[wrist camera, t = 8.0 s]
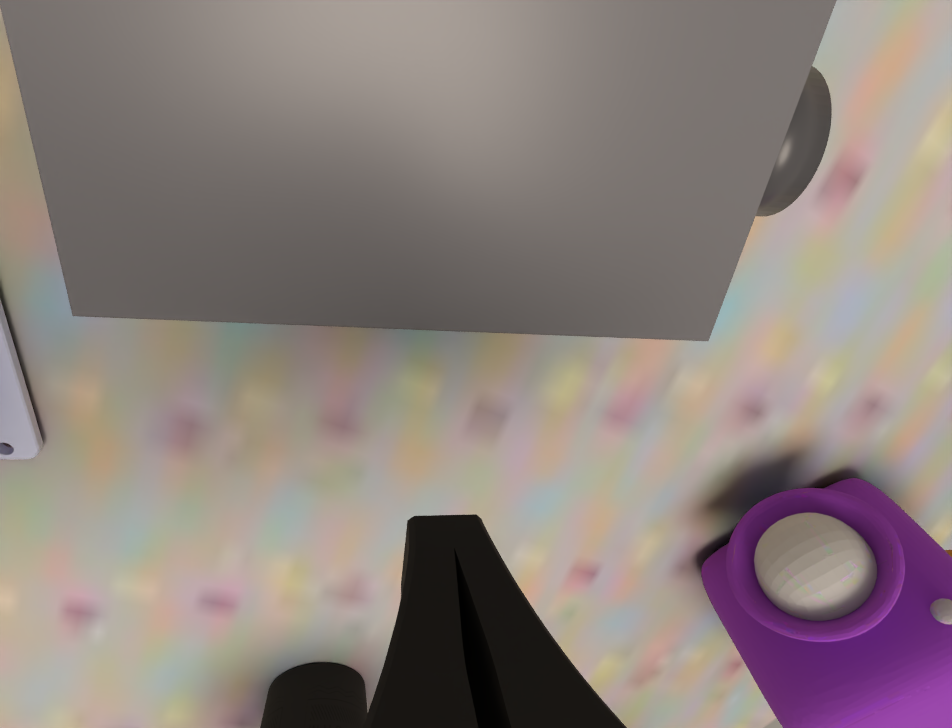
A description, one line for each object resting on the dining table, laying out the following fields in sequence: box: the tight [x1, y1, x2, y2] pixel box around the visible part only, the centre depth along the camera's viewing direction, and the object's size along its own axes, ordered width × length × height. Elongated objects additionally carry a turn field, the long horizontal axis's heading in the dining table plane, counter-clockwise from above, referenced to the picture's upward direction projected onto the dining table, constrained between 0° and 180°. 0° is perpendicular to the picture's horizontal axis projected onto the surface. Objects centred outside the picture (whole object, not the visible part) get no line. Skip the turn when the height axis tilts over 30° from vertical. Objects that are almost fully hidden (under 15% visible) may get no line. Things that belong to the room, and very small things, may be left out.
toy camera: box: [701, 478, 952, 728], centre depth 27 cm, size 11×14×10 cm
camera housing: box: [0, 0, 836, 341], centre depth 15 cm, size 18×10×5 cm, turn 82°
